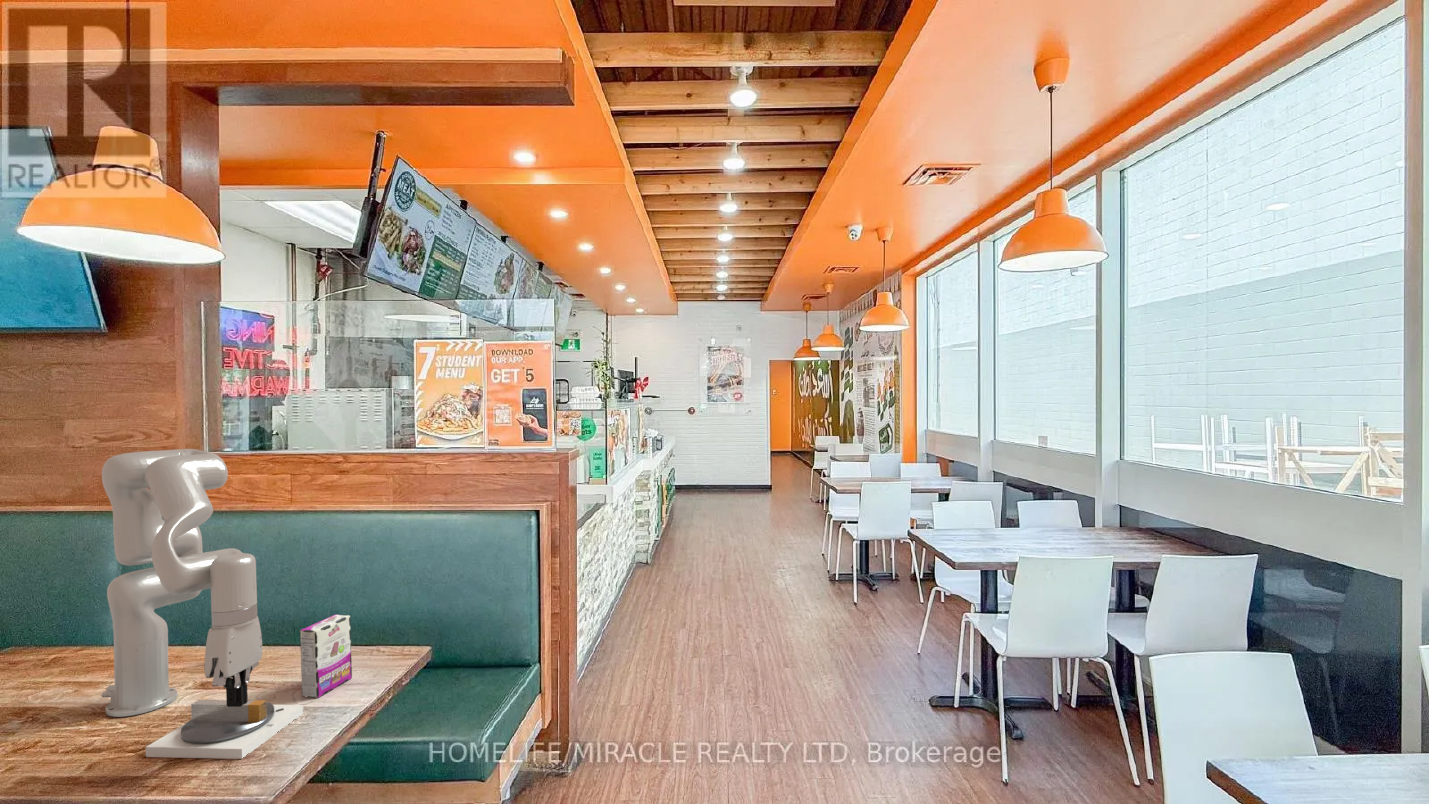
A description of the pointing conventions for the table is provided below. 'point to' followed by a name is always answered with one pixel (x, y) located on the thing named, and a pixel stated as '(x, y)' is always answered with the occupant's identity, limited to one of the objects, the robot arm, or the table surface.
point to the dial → (224, 720)
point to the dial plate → (229, 748)
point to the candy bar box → (325, 655)
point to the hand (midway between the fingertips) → (237, 704)
